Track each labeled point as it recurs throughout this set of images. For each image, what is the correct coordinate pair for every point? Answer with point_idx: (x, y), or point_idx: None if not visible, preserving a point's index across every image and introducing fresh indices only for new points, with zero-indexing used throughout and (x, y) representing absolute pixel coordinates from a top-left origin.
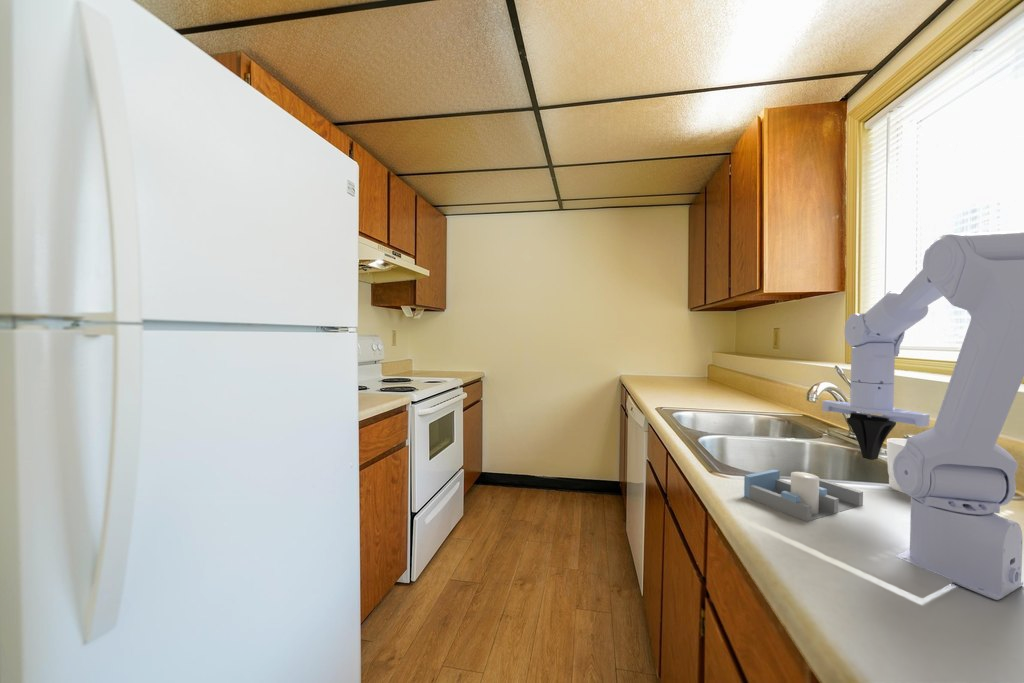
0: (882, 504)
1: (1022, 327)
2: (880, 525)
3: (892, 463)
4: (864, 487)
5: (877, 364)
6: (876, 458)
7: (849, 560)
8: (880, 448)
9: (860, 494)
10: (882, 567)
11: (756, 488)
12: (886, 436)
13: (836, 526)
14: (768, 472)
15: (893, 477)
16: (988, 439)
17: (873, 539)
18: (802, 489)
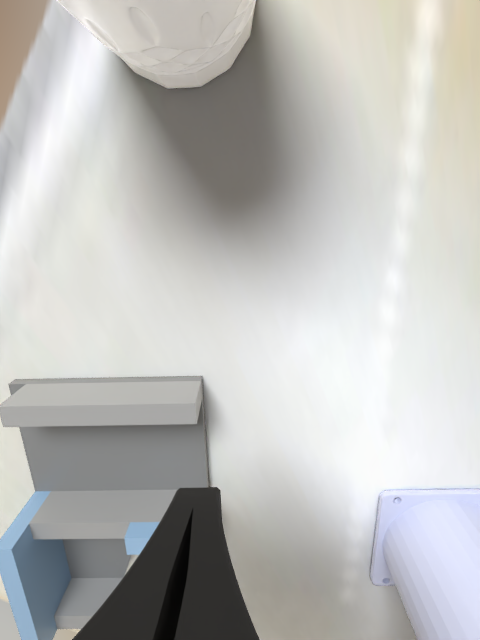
0: (205, 282)
1: None
2: (282, 447)
3: (88, 27)
4: (73, 142)
5: None
6: (220, 502)
7: (330, 631)
8: (224, 535)
9: (197, 414)
10: (368, 611)
11: (78, 627)
12: (250, 621)
13: (242, 535)
14: (18, 589)
15: (123, 57)
16: None
17: (311, 529)
18: None
